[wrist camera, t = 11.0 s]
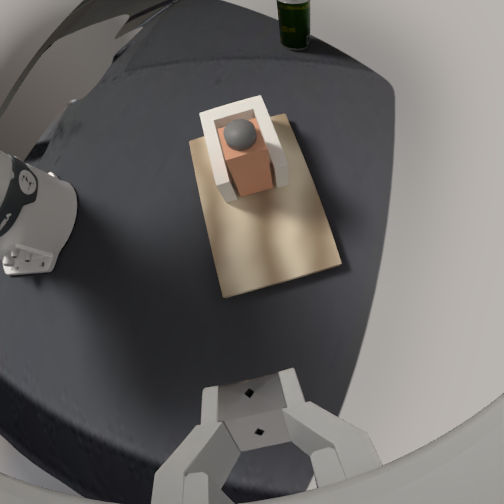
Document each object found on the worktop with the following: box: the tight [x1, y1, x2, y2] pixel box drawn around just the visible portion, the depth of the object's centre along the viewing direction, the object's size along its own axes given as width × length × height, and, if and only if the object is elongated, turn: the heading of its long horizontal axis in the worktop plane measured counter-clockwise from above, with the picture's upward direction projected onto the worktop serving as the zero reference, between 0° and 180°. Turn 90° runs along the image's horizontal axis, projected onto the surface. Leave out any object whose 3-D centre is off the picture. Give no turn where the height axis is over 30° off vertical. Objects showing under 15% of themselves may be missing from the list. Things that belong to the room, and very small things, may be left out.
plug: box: [218, 118, 273, 197], centre depth 30 cm, size 4×4×10 cm
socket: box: [199, 95, 289, 203], centre depth 34 cm, size 8×11×5 cm
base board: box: [189, 114, 342, 298], centre depth 36 cm, size 14×22×2 cm, turn 15°
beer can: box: [277, 0, 310, 51], centre depth 37 cm, size 5×5×12 cm
